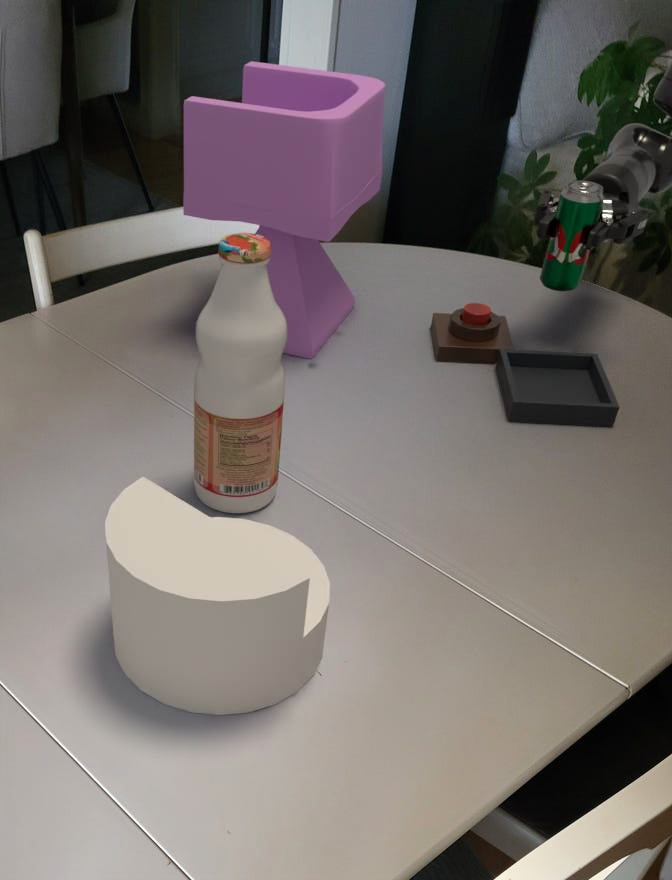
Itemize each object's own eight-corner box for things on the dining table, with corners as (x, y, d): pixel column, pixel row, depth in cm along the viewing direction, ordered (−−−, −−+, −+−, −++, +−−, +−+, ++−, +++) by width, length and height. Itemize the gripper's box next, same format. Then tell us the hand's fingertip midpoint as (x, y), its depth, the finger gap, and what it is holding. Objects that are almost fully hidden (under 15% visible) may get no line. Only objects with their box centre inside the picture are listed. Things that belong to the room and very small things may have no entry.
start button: (486, 315, 134) (489, 303, 133) (490, 327, 131) (492, 315, 130) (460, 314, 134) (462, 302, 133) (462, 326, 131) (465, 314, 130)
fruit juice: (176, 491, 110) (173, 242, 91) (233, 458, 115) (241, 215, 95) (237, 526, 105) (248, 271, 86) (294, 490, 110) (316, 241, 91)
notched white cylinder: (367, 637, 93) (386, 525, 83) (219, 751, 83) (222, 638, 73) (217, 544, 103) (219, 435, 94) (70, 635, 93) (56, 522, 84)
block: (501, 330, 138) (508, 303, 136) (511, 364, 131) (518, 336, 128) (430, 327, 139) (435, 300, 136) (436, 361, 132) (441, 333, 129)
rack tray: (591, 372, 130) (597, 353, 128) (612, 427, 120) (619, 407, 118) (495, 368, 130) (499, 348, 129) (508, 421, 121) (513, 401, 119)
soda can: (582, 280, 125) (609, 182, 117) (576, 296, 122) (603, 197, 114) (542, 273, 127) (566, 176, 119) (535, 288, 124) (559, 190, 115)
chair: (241, 280, 150) (249, 60, 130) (364, 306, 144) (394, 78, 123) (183, 334, 137) (183, 99, 117) (316, 365, 131) (340, 122, 110)
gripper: (563, 153, 128) (516, 192, 118) (675, 174, 123) (636, 217, 113) (548, 211, 134) (503, 254, 124) (655, 234, 128) (616, 280, 118)
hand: (566, 236), depth 118 cm, fingers closed on soda can, 5 cm apart
